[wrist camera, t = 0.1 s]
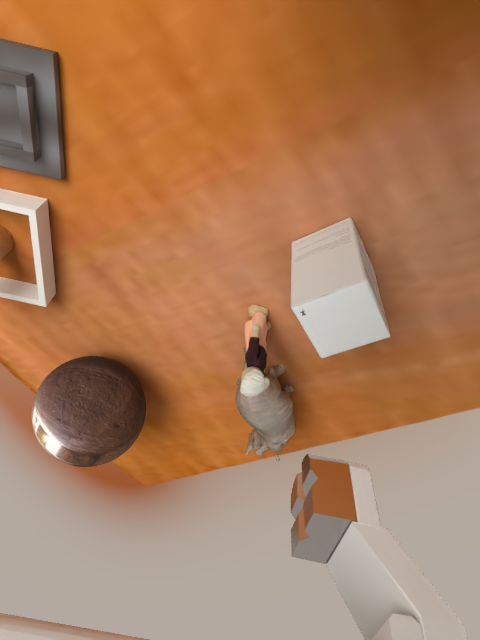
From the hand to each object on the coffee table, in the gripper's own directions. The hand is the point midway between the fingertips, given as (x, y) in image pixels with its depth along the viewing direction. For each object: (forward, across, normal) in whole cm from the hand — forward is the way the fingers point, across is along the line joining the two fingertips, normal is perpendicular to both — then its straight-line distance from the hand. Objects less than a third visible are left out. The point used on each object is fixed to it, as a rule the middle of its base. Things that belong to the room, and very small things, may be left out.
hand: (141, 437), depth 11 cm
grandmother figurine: (+41, -6, +23) cm, 48 cm away
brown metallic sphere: (+43, +14, +39) cm, 60 cm away
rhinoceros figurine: (+43, -10, +35) cm, 56 cm away
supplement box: (+40, -12, +11) cm, 43 cm away
